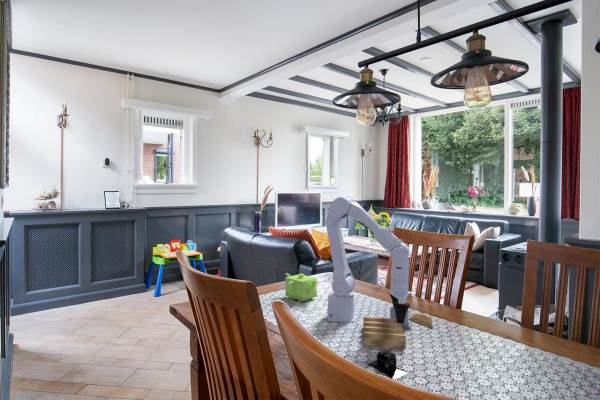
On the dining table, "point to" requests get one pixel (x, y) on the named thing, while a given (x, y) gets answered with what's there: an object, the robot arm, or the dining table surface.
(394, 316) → the plate
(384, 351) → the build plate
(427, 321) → the shard
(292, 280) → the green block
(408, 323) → the holder
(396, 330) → the rack
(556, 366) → the dining table surface
